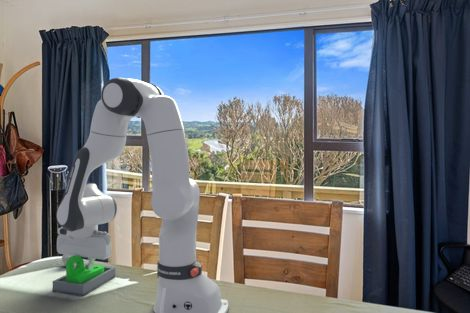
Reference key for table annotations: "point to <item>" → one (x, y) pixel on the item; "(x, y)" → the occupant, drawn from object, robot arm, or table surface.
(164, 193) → the robot arm
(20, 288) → the table surface
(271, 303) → the table surface
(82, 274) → the mechanical part
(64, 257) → the white sculpted head
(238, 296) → the table surface
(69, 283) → the tray
